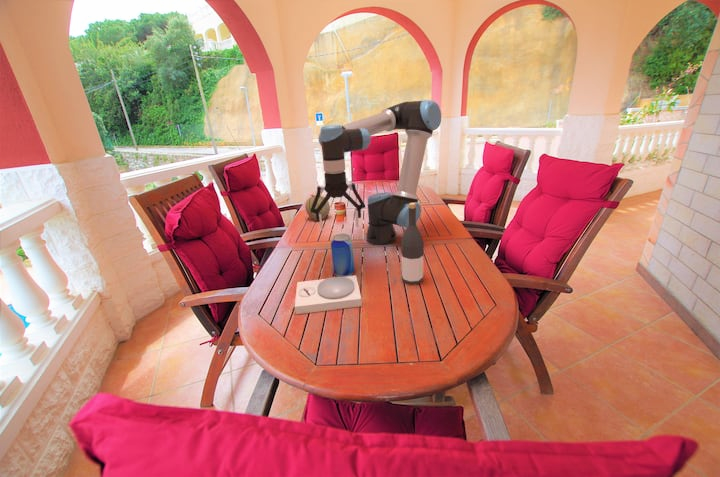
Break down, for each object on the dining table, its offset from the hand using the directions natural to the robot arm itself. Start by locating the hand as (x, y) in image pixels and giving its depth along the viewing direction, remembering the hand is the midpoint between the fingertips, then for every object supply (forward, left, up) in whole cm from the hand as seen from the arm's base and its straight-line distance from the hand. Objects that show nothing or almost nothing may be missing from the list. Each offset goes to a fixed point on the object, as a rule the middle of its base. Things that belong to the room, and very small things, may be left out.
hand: (339, 227), depth 120 cm
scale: (+7, +16, -20) cm, 26 cm away
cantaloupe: (+10, -73, -20) cm, 77 cm away
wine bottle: (-25, +11, -20) cm, 34 cm away
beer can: (0, 0, -20) cm, 20 cm away
